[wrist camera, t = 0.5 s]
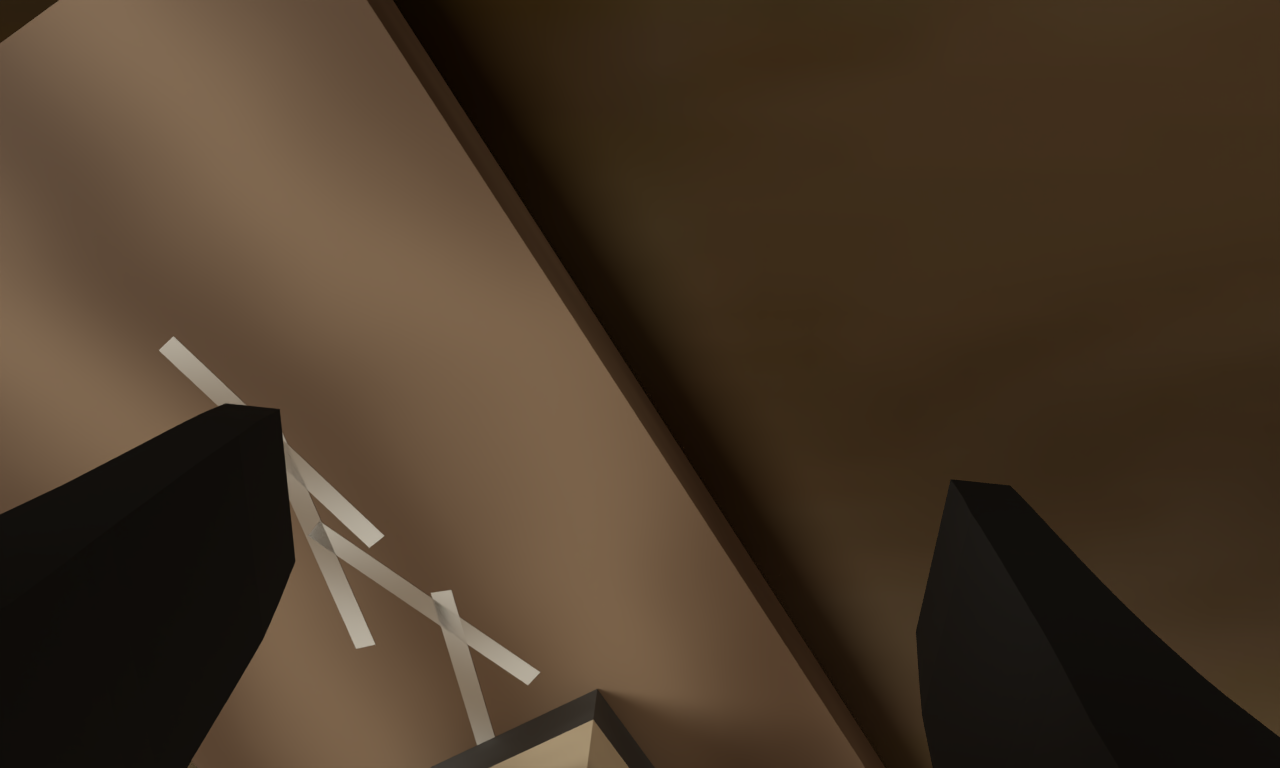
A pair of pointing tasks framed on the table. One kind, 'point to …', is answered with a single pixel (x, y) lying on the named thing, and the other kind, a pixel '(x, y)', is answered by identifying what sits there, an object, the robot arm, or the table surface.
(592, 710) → the block
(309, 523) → the walnut board
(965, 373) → the table surface
